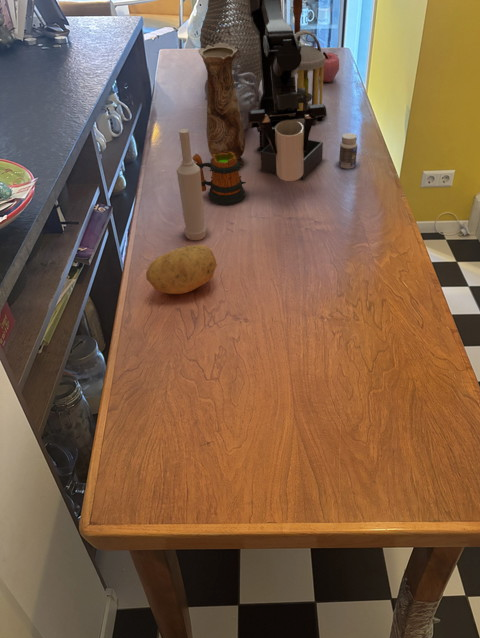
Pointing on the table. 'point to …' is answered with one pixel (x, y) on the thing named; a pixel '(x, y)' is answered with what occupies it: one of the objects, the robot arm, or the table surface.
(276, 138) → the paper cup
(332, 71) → the apple
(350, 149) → the pill bottle
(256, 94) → the ornament
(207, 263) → the potato
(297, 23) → the handbell
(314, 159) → the bin
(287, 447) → the table surface
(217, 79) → the vase
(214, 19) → the vase
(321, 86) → the lantern
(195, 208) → the bottle
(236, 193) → the mug
